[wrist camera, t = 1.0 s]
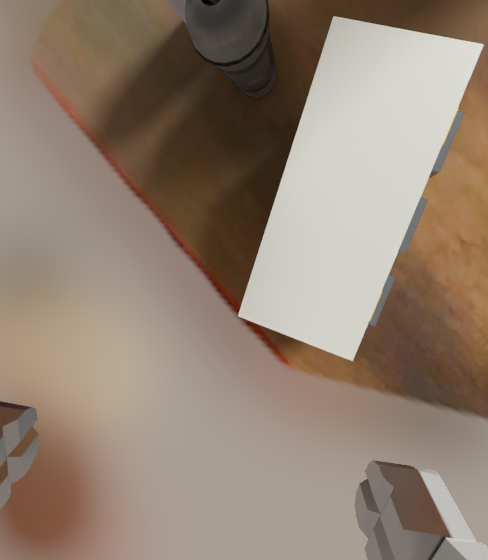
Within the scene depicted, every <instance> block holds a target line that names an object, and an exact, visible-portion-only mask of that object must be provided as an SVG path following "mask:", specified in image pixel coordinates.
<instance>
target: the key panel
mask: <svg viewBox="0 0 488 560" xmlns="http://www.w3.org/2000/svg"><path fill="white" fill-rule="evenodd" d="M483 45H484V44H479V43H474V42H468V41H463V40H458V39H453V38H447V37H442V36H437V35H431V34H426V33H421V32H415V31H410V30H405V29H400V28H394V27H389V26H384V25H378V24H373V23H368V22H362V21H357V20H352V19H346V18H341V17H336V16H333V19H332V22H331V25H330V29H329V32H328V35H327V38H326V41H325V44H324V47H323V50H322V54H321V57H320V60H319V63H318V66H317V69H316V72H315V76H314V79H313V82H312V85H311V88H310V91H309V94H308V97H307V101H306V104H305V107H304V110H303V113H302V116H301V119H300V123H299V126H298V129H297V132H296V135H295V138H294V141H293V145H292V148H291V151H290V154H289V157H288V160H287V163H286V166H285V170H284V173H283V176H282V179H281V182H280V185H279V188H278V192H277V195H276V198H275V201H274V204H273V207H272V210H271V213H270V217H269V220H268V223H267V226H266V229H265V232H264V235H263V239H262V242H261V245H260V248H259V251H258V254H257V257H256V260H255V264H254V267H253V270H252V273H251V276H250V279H249V282H248V286H247V289H246V292H245V295H244V298H243V301H242V304H241V307H240V311H239V314H238V317H241V318H243V319H246V320H248V321H251V322H253V323H256V324H259V325H261V326H264V327H266V328H269V329H271V330H274V331H277V332H279V333H282V334H284V335H287V336H289V337H292V338H294V339H297V340H300V341H302V342H305V343H307V344H310V345H312V346H315V347H317V348H320V349H323V350H325V351H328V352H330V353H333V354H335V355H338V356H340V357H343V358H346V359H348V360H351V361H353V359H354V357H355V354H356V352H357V350H358V347H359V345H360V342H361V340H362V337H363V335H364V333H365V330H366V328H367V325H368V323H369V321H371V318H372V316H373V313H374V311H375V309H376V306H377V304H378V301H379V299H380V297H381V294H382V289H383V287H384V284H385V282H386V280H387V277H388V275H389V272H390V270H391V267H392V265H393V263H394V260H395V258H396V255H397V253H398V251H399V248H400V246H401V243H402V241H403V239H404V236H405V234H406V231H407V229H408V226H409V224H410V222H411V219H412V217H413V214H414V212H415V210H416V207H417V205H418V202H419V200H420V197H421V195H422V193H423V190H424V188H425V185H426V183H427V181H428V178H429V176H430V173H431V171H432V169H433V166H434V164H435V161H436V159H437V156H438V154H439V152H440V149H441V147H442V146H443V145H444V142H445V140H446V138H447V135H448V133H449V130H450V128H451V125H452V123H453V121H454V118H455V116H456V113H457V111H458V109H459V107H458V106H459V103H460V101H461V99H462V96H463V94H464V91H465V89H466V87H467V84H468V82H469V79H470V77H471V74H472V72H473V70H474V67H475V65H476V62H477V60H478V58H479V55H480V53H481V50H482V48H483Z"/></svg>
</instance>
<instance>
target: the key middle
mask: <svg viewBox="0 0 488 560" xmlns="http://www.w3.org/2000/svg"><path fill="white" fill-rule="evenodd" d="M427 201H428V199H425V198H421V197H420V200H419V202H418V205H417V207H416V210H415V212H414V214H413V217H412V219H411V222H410V224H409V226H408V229H407V231H406V234H405V236H404V239H403V241H402V243H401V246H400V248H399V251H400V252H403V253H406V251H407V248H408V246H409V244H410V241H411V239H412V237H413V234H414V232H415V229H416V227H417V225H418V222H419V220H420V218H421V215H422V213H423V210H424V208H425V206H426V203H427Z"/></svg>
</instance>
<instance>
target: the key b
mask: <svg viewBox="0 0 488 560" xmlns="http://www.w3.org/2000/svg"><path fill="white" fill-rule="evenodd" d="M464 113H465V112H461V111H457V113H456V116H455V118H454V121H453V123H452V125H451V128H450V130H449V133H448V135H447V138H446V140H445V142H444V145H443V146H442V147H441V149H440V152H439V154H438V156H437V159H436V161H435V164H434V166H433V169H432V171H431V173H430V176H429V178H430V177H432V176H434V175H436V174H437V173H439V172H440V170H441V168H442V165H443V163H444V160H445V158H446V156H447V153H448V151H449V148H450V146H451V144H452V141H453V139H454V137H455V134H456V132H457V129H458V127H459V125H460V122H461V120H462V118H463V115H464Z"/></svg>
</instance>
